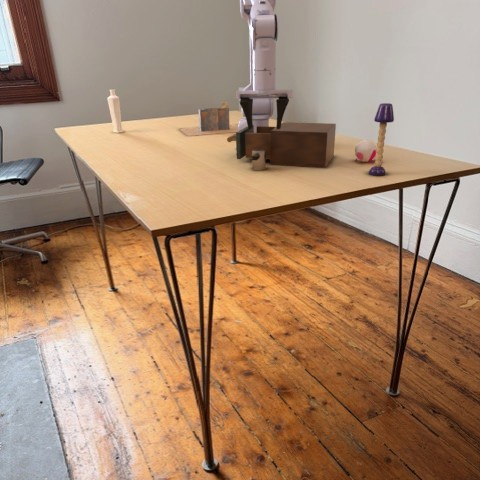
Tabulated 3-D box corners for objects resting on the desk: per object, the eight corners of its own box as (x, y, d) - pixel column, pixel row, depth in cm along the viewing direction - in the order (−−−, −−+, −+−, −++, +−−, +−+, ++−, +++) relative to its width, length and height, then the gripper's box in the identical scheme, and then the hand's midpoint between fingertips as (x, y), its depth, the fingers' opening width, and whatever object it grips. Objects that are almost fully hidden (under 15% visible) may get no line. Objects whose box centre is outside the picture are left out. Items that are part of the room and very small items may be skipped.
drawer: (223, 158, 141) (222, 132, 137) (237, 149, 151) (237, 124, 148) (285, 161, 135) (286, 134, 132) (296, 151, 146) (296, 126, 143)
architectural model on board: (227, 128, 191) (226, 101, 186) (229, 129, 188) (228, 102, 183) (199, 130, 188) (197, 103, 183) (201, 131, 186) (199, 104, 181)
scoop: (254, 166, 135) (254, 148, 132) (267, 167, 134) (267, 148, 131) (247, 172, 130) (247, 152, 127) (261, 173, 129) (261, 153, 126)
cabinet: (270, 164, 137) (270, 130, 132) (282, 153, 148) (283, 122, 144) (325, 167, 132) (327, 132, 128) (333, 156, 144) (335, 123, 139)
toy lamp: (366, 171, 128) (374, 102, 119) (384, 171, 128) (393, 102, 119) (370, 175, 124) (378, 105, 115) (388, 175, 123) (398, 104, 115)
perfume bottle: (127, 131, 190) (121, 89, 182) (119, 133, 186) (112, 90, 179) (118, 130, 192) (112, 88, 184) (110, 132, 189) (104, 89, 181)
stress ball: (368, 176, 136) (384, 157, 131) (346, 158, 135) (361, 138, 131) (372, 169, 142) (388, 150, 137) (351, 151, 141) (366, 132, 137)
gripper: (232, 71, 120) (233, 130, 126) (290, 70, 116) (288, 130, 123) (239, 71, 126) (240, 127, 132) (294, 70, 122) (293, 127, 129)
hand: (264, 128), depth 128 cm, fingers open, 7 cm apart
